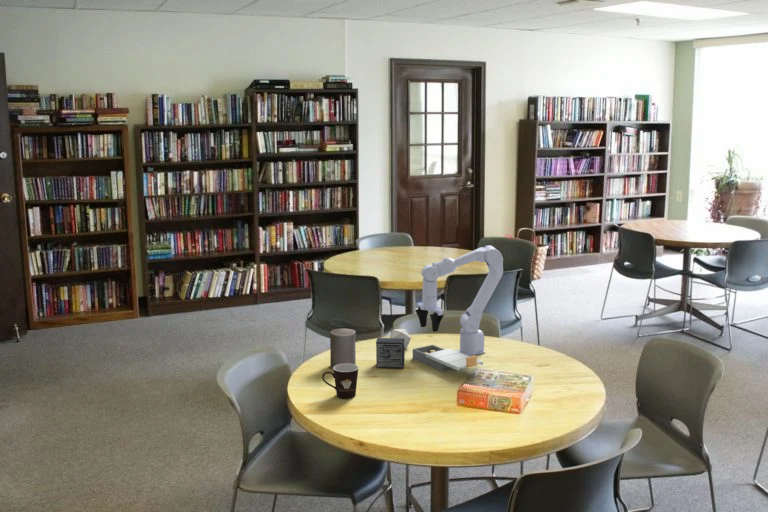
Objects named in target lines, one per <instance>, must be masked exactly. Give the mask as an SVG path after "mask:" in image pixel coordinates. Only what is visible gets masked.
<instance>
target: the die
mask: <svg viewBox="0 0 768 512" xmlns="http://www.w3.org/2000/svg"><path fill="white" fill-rule="evenodd" d="M389 338H404V350H407V349H408V346H409V344H410V342H411V339H412V337H411V335H410V334H409V333H408V331H407V329H406V328H398V329H397V328H396V329H395V328H394V329H392V331H391V334H390V337H389Z"/></svg>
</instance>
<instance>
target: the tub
mask: <svg viewBox="0 0 768 512" xmlns="http://www.w3.org/2000/svg"><path fill="white" fill-rule="evenodd" d="M440 350H445V348H443V347H440V346H437V345H436V344H429V345H425V346H421V347H415V348H412V360H414V361H417V362H419V363H421V364H424V365H426V366H428V367H431V368H433V369H435V370H437V371H440V372H445V371H449V370H452V369H453V368H451V367H449V366H446V365H444V364H442V363H439V362H437V361H434V360H432V359H430V358H427V357H426V354H427V353H432V352H436V351H440ZM453 370H454V369H453Z"/></svg>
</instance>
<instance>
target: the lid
mask: <svg viewBox="0 0 768 512" xmlns="http://www.w3.org/2000/svg"><path fill="white" fill-rule="evenodd" d="M444 349H445V348H444ZM426 357H427V358H430V359H432V360H434V361H437V362H439V363H442V364H444V365H446V366H449V367H451V368H453V370H456V371H460V370H461V369H465V368H472V367H477V365H481V366H483V364H484V361H483V360H479V359H478V357H477V355H473V356H467V355H465V354H462V353H460V352H457V351H456V349H455V350H454V349H452V348H446V349H445V350H440V351H436V352H432V353H427V354H426Z"/></svg>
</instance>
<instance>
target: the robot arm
mask: <svg viewBox="0 0 768 512" xmlns="http://www.w3.org/2000/svg"><path fill="white" fill-rule="evenodd" d="M503 257H504V256H503V254H502V253H501V251H500V250H498V249H496V247H494V246H493V245H490V244H489V245H487V244H486V245H484V246H481V247H478V248H476V249H474V250H472V251H469V252H466V253H465V254H463V255H460V256H458V257H455V258H454V259H453V258H451V257H443V258H442V260H440V261H437V262H431V264H427V265H425V266H423V268H422V270H421V271H420V273H421V276H422V277H423V278H422V290H421V291H422V292H421V293H422V295H421V297H422V298H421V299H422V302H421V301H420V302H416V304H415V305H416V309H415V313H416V315H417V317H418V320H419V321H418V322H419V324H420V325H419V326H420V327H421V328H425V327H427V323H428V322H427V320H428V314H429V312H430V313H432V314H429V317H430V320H431V328H432V329H431V330H432V332H438V331H439V328H440V326H441V325H440V324H441V322H442V319H443V318H444V316H445V315H444V310H443V309H442V308H440V307H439V306H438V283H437V280H438V278H440V277H443V276H446V275H449V274H451V273H453V272H455V271H456V269H457V268H458V267H460V266H464V265H467V264H470V263H473V262H480V263H485V264H486V265H487V269H488V274H486V278H484V280H483V283H482V285H481V286H480V287H479V290H478V291H477V294H476V296H475V298H474V300H473V301H472V303H471V305H470V306H469V307H468V308H467V309H466V310H465V312H463V313H462V314H461V316H460V317H459V323H460V325H461V328H460V331H459V349H455V351H457V352H460V353H462V354H465V355H467V356H474V355H475V356H477V355H481V354H485V353H486V351H485V334H484V331H482V330H481V329H479V328H480V323H481V321H482V318H483V312H484V310H485V308H486V306H487V304H488V303H489V300H491V297H492V295H493V293H494V292H495V290H496V288H497V286H498V284H499V282H500V281H501V279H502V277H503V275H504V263H503V262H504V258H503Z"/></svg>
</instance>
